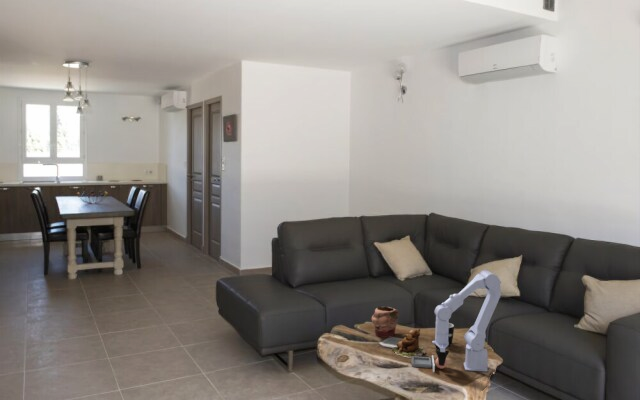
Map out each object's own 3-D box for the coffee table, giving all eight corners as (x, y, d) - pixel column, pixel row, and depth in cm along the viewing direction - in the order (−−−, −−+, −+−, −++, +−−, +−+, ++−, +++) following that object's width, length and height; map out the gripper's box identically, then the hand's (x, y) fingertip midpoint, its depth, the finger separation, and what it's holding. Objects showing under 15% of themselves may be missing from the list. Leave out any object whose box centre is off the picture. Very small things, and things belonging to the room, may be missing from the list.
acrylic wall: (433, 361, 250) (433, 355, 250) (434, 372, 238) (434, 365, 238) (431, 361, 250) (431, 355, 250) (433, 372, 238) (433, 365, 238)
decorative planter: (387, 326, 299) (387, 302, 298) (406, 331, 291) (406, 306, 290) (365, 336, 284) (366, 310, 283) (384, 341, 276) (385, 314, 275)
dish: (430, 360, 251) (430, 357, 251) (431, 367, 243) (431, 364, 243) (411, 359, 253) (411, 356, 252) (411, 366, 244) (412, 363, 244)
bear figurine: (402, 345, 271) (403, 321, 270) (429, 352, 262) (430, 328, 261) (387, 353, 261) (388, 328, 260) (415, 361, 251) (415, 335, 250)
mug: (448, 349, 266) (448, 329, 265) (431, 344, 272) (432, 325, 271) (459, 342, 275) (459, 323, 274) (442, 338, 281) (443, 319, 280)
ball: (446, 366, 245) (446, 355, 244) (447, 370, 240) (447, 359, 239) (434, 365, 245) (435, 354, 245) (435, 370, 240) (435, 359, 240)
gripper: (431, 326, 249) (430, 355, 250) (433, 337, 234) (432, 367, 236) (447, 327, 248) (446, 356, 249) (450, 338, 233) (449, 368, 235)
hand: (440, 362), depth 242 cm, fingers open, 7 cm apart
